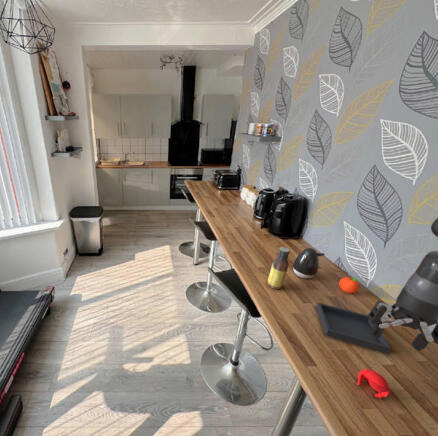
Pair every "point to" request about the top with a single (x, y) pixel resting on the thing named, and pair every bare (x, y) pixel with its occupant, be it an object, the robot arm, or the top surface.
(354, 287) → the clementine
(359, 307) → the top surface
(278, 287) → the sauce bottle
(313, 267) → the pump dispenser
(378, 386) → the red animal figurine
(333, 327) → the tray
